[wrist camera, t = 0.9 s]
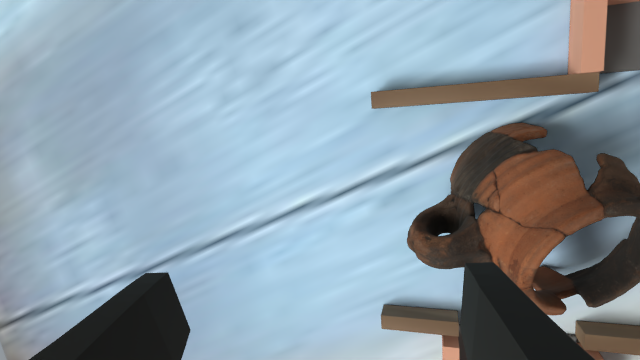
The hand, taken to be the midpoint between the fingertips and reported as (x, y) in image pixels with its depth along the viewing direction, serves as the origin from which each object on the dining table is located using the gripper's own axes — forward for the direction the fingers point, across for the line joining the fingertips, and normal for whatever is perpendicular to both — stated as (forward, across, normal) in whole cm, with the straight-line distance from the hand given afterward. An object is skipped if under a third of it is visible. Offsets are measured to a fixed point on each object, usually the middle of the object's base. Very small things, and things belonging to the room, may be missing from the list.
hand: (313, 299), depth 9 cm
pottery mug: (+14, -10, +7) cm, 19 cm away
